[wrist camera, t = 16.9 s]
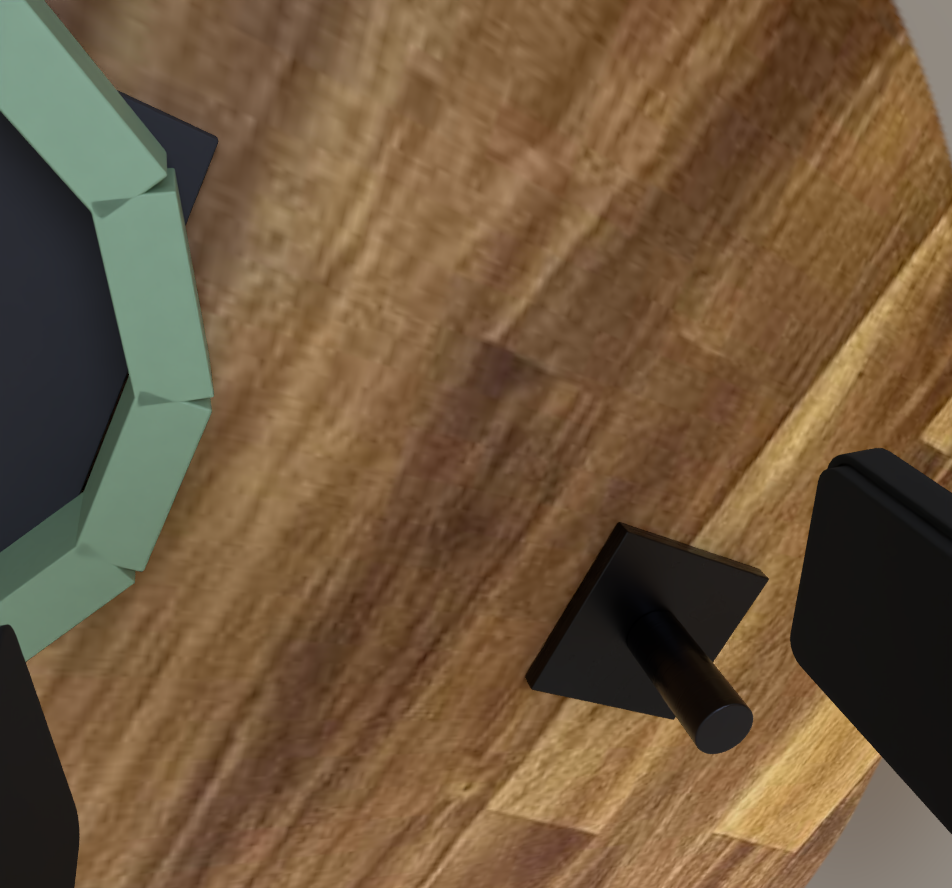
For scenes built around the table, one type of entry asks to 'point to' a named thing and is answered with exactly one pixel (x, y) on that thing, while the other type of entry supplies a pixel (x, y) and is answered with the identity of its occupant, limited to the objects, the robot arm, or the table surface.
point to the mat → (62, 321)
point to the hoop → (139, 322)
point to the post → (654, 636)
